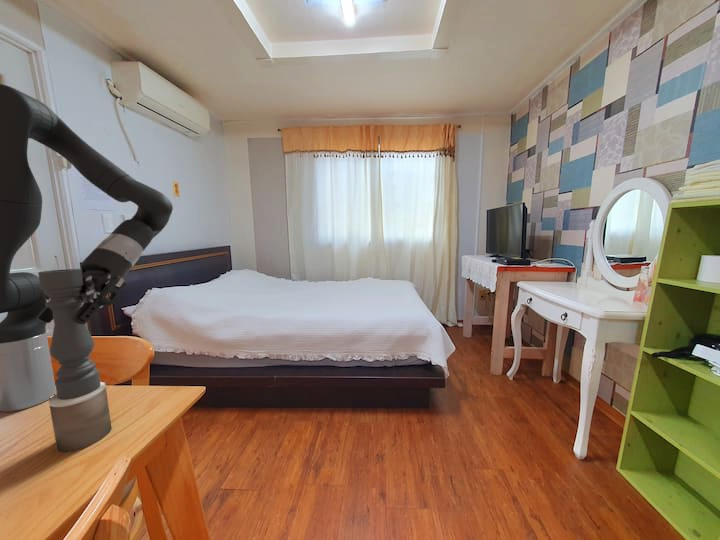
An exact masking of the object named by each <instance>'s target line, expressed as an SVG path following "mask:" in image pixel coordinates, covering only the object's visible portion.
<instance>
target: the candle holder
mask: <svg viewBox="0 0 720 540" xmlns="http://www.w3.org/2000/svg"><path fill="white" fill-rule="evenodd" d="M82 272H83V271H82V268H70V269H69V268H66V269H53V270H46V271H45V270H44V271H39V272H38V273H37V274H38V277H39V280H40V286H41V289H43V290H44V293H45V294H46V295H47V296H48V297H49V298H50V301H47V303H46V307H49V308H50V309H51V310H52V313H53V324H54V325H53V331H52V338H51V342H50V346H49V351H50V357H52V358H53V359H54V360H55V361H58V364H59V365H60V366H59V369H58V370H57V371H56V373H55V377H56V379H55V380H54V382H55V389H56V394H57V397H58V399H60V400H67V399H74V398H77V397H81V396H84V395H86V394H89V393H91V392H93V391H95V390H97V389H98V388H99V387H100V385H101V383H100V382H101V378H100V370H99V369H98V368H96V366H97V363H96V362H95V361H93V360H91V359H90V357H91V353H92V352H93V349H94V347H95V340H94V339H93V337H92V335H91V332H90V331H89V329H88V327H87V325H86V324H78V323H76V322H74V321H72V317H73V316H74V315H75V314H76V313H77V311H78V310H79V309H80V308H81V307H82V305H83V304H84V303H85V298H82V297H79V294H80V291H81V290H82V285H84V282H83V276H82Z"/></svg>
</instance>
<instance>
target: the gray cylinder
mask: <svg viewBox="0 0 720 540" xmlns="http://www.w3.org/2000/svg"><path fill="white" fill-rule="evenodd" d="M100 383H101V385H100V387H99V388H98V389H97V390H95V391H93V392H91V393H89V394H86V395H84V396H81V397H77V398H74V399H67V400H60V399H58V397H57V393H56V394H55V395H54V396H53V397H52V398H50V399H48V404H49V410H50V416H51V421H52V422H51V423H52V427H53V432H54V440H55V444H56V445H55V446H56V450H57V451H58V452H59V453H70V452H76V451H78V450H81V449H85V448H87V447H89V446H92V445H94V444H96V443H97V442H99V441H101V440H102V439H103V438H105V437H106V436H108V434H110V432H111V431H112V421H111V413H110V409H109V406H110V405H109V399H108V393H107V386H106V382H102V381H100Z"/></svg>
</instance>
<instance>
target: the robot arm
mask: <svg viewBox="0 0 720 540" xmlns="http://www.w3.org/2000/svg"><path fill="white" fill-rule="evenodd" d="M29 139H31V140H34V141H36V142H37V143H39V144H42V145H43V146H45V147H47V148H48V149H50V150H52V151H54V152H56V153H57V154H59V155H60V156H61V157H63V158H64V159H65V160H67V161H68V162H69V163H70V164H71V165H72V166H73V167H74V168H75V169H76V171H78V173H80V175H81V176H83V177H84V179H86V180H87V181H88V182H89V183H90V184H92V185H93V186H95V187H96V188H98V189H99V190H100V191H102V192H104V194H106V195H107V196H108V197H110V198H111V199H113V200H115V201H117V202H119V203H128V202H132V203H133V204H135V205H136V206H137V211H136V212H135V214H134V215H133V216H132V217H131V218H128V219H126V220H124V221H122V222H120V224H118V226H116V228H115V229H114V230H113V231H112V232H111V233H110V234H109V235H108V236H107V237H106V238H104V239H103V240H102V241H101V242H100V243H98V245H97V246H96V247H95V248H94V249H93V250H92V251H91V252H90V253H89V254H88V255H87V256H86V258H85V259H83V260H82V262H81V263H80V269H82V276H83V282H84V285H82V290H81V291H80V294H79V297H82V298H84V299H85V298H87V299H86V302H83V303H82V305H81V308H80V309H79V310H78V311H77V313H76V314H75V315H74V316H73V317H72V321H74V322H76V323H78V324H85V325H86V323H87V322H88V321H89V320H90V319H91V318H92V316H94V314H95V312H97V311H98V309H101V308H103V307H104V306H109V307H110V306H112V305H113V303H114V302H115V301H116V299H117V298H118V297H119V295H120V293H122V292H123V290H124V288H125V287H126V285H127V284H128V282H127V281H125V280H124V278H125V277H126V276H127V275H128V273H129V272H130V271H131V270H132V268H133V267H134V266H135V265H136V263H137V262H138V261H139V259H140V257H141V256H142V254H143V252H144V251H145V250H146V248H147V247H148V246H149V245H150V244H151V242H152V240H153V239H154V238H155V237H157V236H158V235H159V234H160V233H161V232H162V231H163V230H164V229H165V227H166V226H167V224H168V223H169V220H170V218H171V215H172V212H173V207H174V206H173V203H172V201H171V200H170V199H169V197H167V195H165V194H164V193H162V192H161V191H159V190H157V189H155V188H153V187H151V186H149V185H147V184H145V183H142V182H140V181H139V180H136V179H135V178H134V177H132V176H131V175H129V174H128V173H127V172H126V171H124V170H123V169H121V168H120V167H119V166H117V165H116V164H115V163H114V162H112V161H111V160H109V159H108V158H107V157H105V156H104V155H103V154H101V153H100V152H99V151H97V150H96V149H94V148H93V147H92V146H91V145H89V144H88V143H87V142H86V141H84V140H83V139H82V137H80V136H79V135H78V134H77V133H76V132H75V131H73V130H72V128H70V127H69V126H68V125H67V124H66V123H65V122H64V121H63V120H62V119H61V118H60V117H59V116H58V115H57V114H56V113H55V112H54V110H52V109H51V108H50V107H49V106H48V105H46V104H45V103H43V102H41V100H38V99H36V98H35V97H33V96H30V95H28V94H26V93H24V92H22V91H20V90H19V89H17V88H14V87H12V86H9V85H6V84H3V83H0V314H5V313H7V314H6V316H5V317H4V318H3V319H2V320H1V321H0V411H1V412H2V413H10V412H16V411H21V410H24V409H29V408H31V407H34V406H37V405H39V404H42V403H44V402H46V401H49V400H50V399H49V398H50V397H51V396H53V395H54V393H55V392H56V386H55V377H54V371H53V365H52V358H51V357H52V356H51V354H50V346H49V341H48V336H47V335H48V334H47V329H46V326H47V324H49V323H51V322H52V321H54V319H53V313H52V310H51V309H50V308H49V307H46V303H47V302H49V301H50V298H49V297H48V296H47V295H46V294H45V293H44V290H43V289H41V286H40V280H39V276H38V275H36V274H35V273H32V272H27V271H23V272H21V271H20V272H11V273H10V271H11V267H12V266H11V265H12V263H13V260H14V258H15V256H16V254H17V252H18V251H19V250H20V249H21V248H22V246H23V245H24V244H25V243H26V242H27V241H28V240H29V239H30V238H31V237H32V236H33V235H34V233H35V232H36V231H37V229H38V228H39V226H40V223H41V220H42V212H43V211H42V209H43V195H42V192H41V189H40V187H39V184H38V183H37V181H36V178H35V176H34V174H33V172H32V170H31V167H30V164H29V159H28V146H29ZM108 294H110V295H109V297H107V296H108ZM56 393H57V392H56Z"/></svg>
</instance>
